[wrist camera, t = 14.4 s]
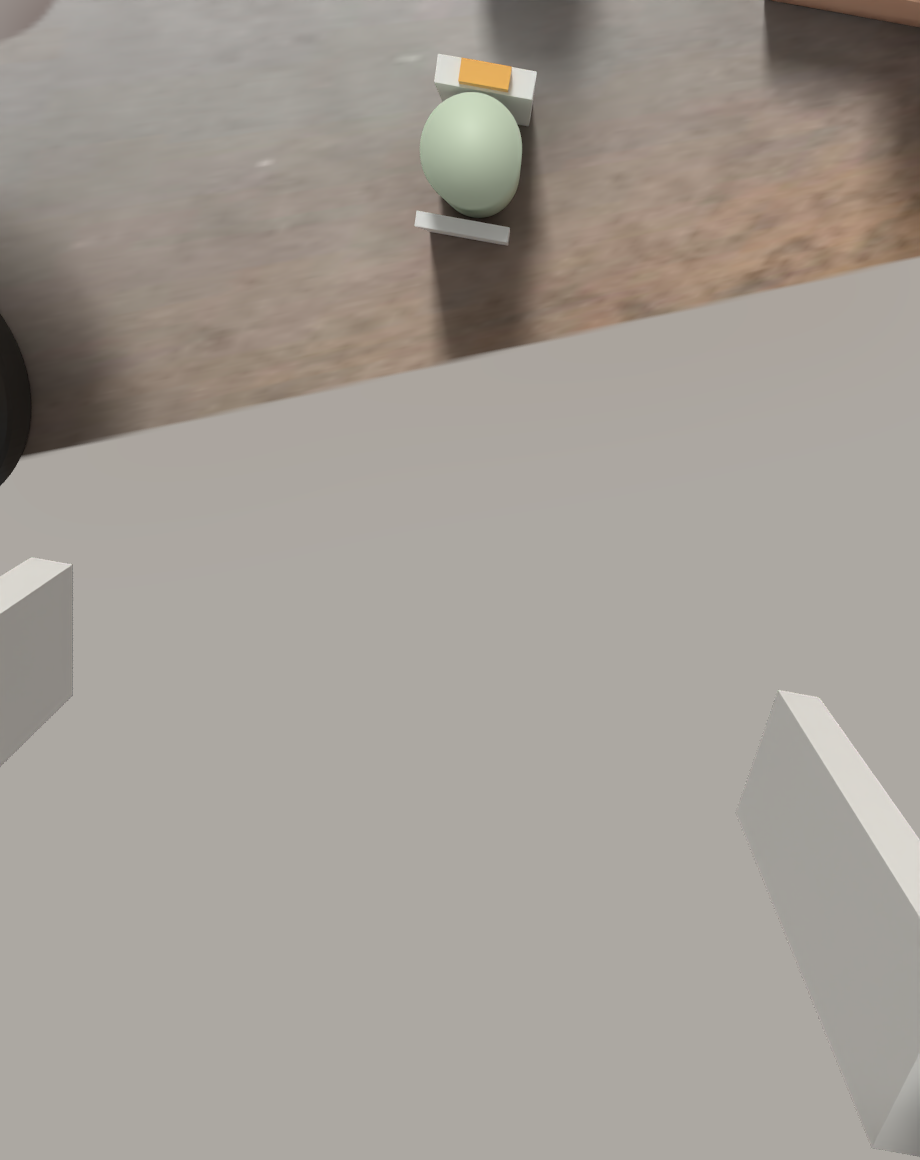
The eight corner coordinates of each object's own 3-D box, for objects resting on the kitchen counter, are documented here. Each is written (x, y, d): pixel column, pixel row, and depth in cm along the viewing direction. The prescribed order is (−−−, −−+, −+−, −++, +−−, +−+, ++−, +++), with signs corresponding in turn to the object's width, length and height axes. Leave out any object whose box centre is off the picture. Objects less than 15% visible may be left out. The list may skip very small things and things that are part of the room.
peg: (432, 210, 42) (412, 196, 33) (445, 120, 40) (428, 83, 32) (511, 224, 42) (511, 214, 33) (527, 135, 40) (531, 102, 32)
